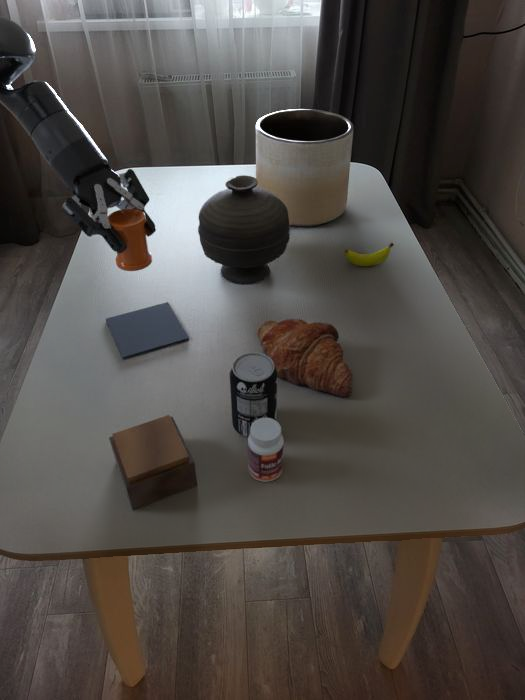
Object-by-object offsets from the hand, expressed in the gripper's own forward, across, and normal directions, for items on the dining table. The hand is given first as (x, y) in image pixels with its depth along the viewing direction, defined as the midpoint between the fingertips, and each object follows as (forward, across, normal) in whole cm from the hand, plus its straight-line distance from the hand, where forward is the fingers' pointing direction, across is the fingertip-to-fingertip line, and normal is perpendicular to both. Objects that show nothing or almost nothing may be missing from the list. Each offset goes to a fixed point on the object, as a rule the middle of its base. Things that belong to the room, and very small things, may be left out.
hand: (138, 241), depth 88 cm
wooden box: (+28, -22, -2) cm, 36 cm away
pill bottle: (+37, -13, -10) cm, 41 cm away
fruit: (+29, +42, -2) cm, 51 cm away
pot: (+15, +26, +12) cm, 32 cm away
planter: (+11, +57, +16) cm, 60 cm away
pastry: (+32, +8, -5) cm, 33 cm away
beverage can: (+33, -8, -6) cm, 34 cm away
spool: (+2, 0, +4) cm, 5 cm away
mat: (+12, 0, +14) cm, 19 cm away
